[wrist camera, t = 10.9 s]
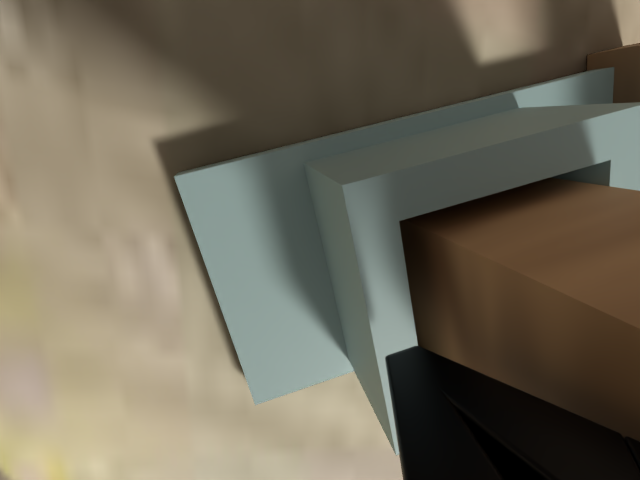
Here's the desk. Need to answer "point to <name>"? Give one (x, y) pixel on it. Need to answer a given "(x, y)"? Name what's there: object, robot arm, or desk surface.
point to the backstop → (620, 71)
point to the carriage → (379, 221)
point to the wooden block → (537, 293)
